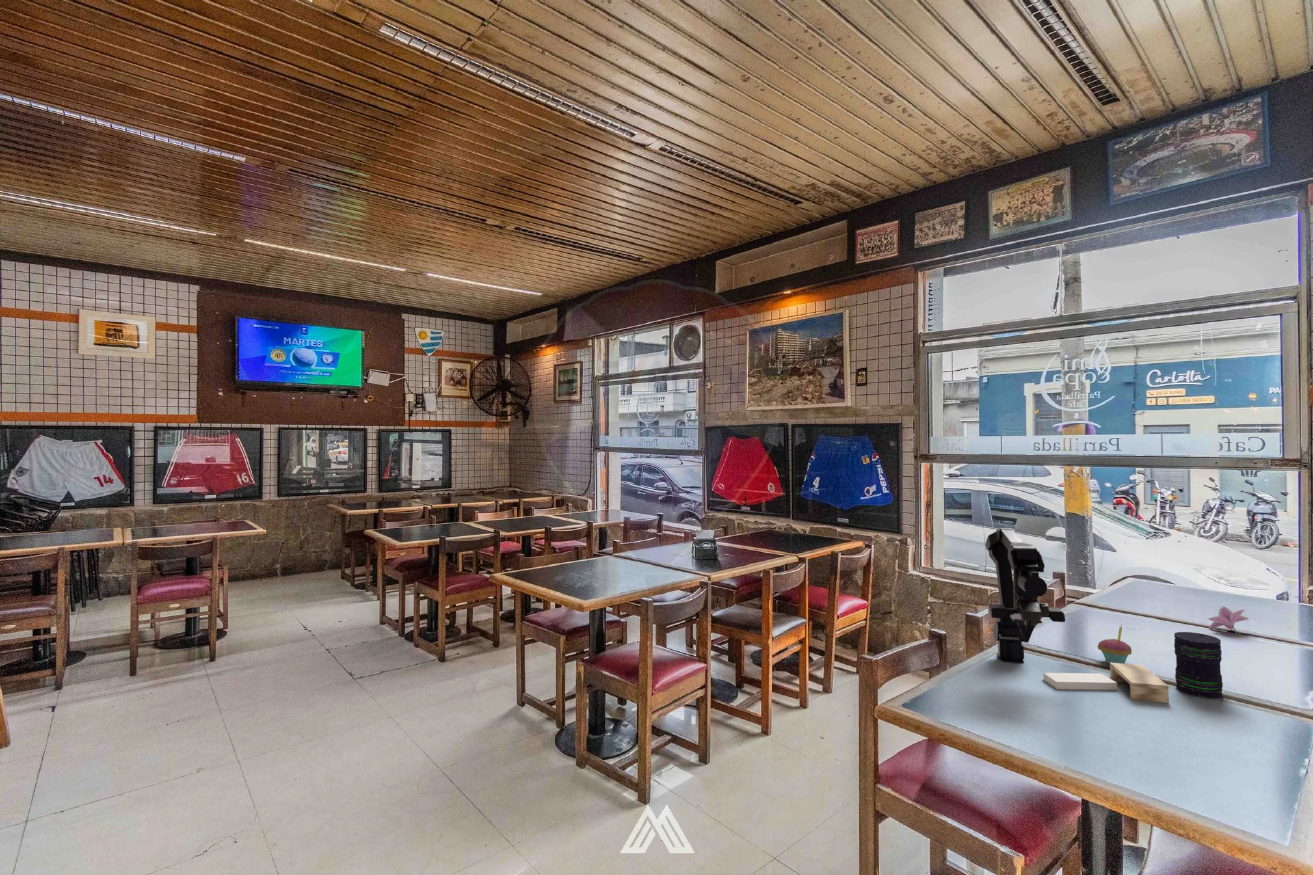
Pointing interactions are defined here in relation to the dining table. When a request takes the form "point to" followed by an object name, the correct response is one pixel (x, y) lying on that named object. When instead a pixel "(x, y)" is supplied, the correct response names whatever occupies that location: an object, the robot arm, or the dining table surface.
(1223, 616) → the lily
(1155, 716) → the dining table surface
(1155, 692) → the beige block
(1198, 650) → the black disc stack
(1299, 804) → the dining table surface
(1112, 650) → the cupcake
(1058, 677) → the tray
